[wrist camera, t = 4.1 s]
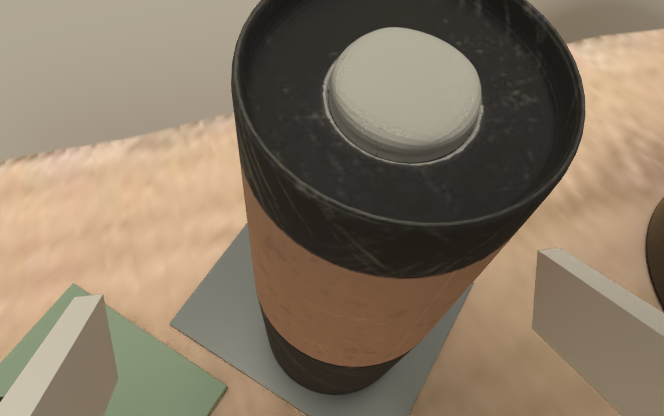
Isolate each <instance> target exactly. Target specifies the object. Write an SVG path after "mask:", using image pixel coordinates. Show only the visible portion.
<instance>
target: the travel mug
mask: <svg viewBox="0 0 664 416" xmlns="http://www.w3.org/2000/svg"><path fill="white" fill-rule="evenodd" d="M231 87H232V99H233V106H234V115H235V123H236V131H237V139H238V148H239V156H240V164H241V172H242V180H243V189H244V197H245V205H246V213H247V222H248V230H249V238H250V246H251V255H252V263H253V271H254V279H255V287H256V292H257V296H258V300H259V304H260V308H261V312H262V316H263V320H264V324H265V328H266V332H267V336H268V340H269V343H270V347H271V350H272V352H273V354H274V357H275V358H276V360H277V362H278V364H279V365H280V367H281V368H282V369H283V370H284V372H285V373H286V374H287V375H288V376H289V377H290V378H291V379H292V380H294V381H295V382H296V383H298V384H299V385H301V386H303V387H305V388H306V389H309V390H311V391H314V392H317V393H321V394H327V395H344V394H349V393H353V392H356V391H359V390H362V389H364V388H366V387H368V386H370V385H371V384H373V383H374V382H375V381H377V380H378V379H379V378H381V377H382V376H383V375H384V374H385V373H386V372H387V371H389V370H390V369H391V368H392V367H393V366H394V365H395V364H396V363H397V362H399V361H400V360H401V359H402V358H403V357H404V356H405V355H406V354H408V353H409V352H410V351H411V350H412V349H413V348H414V347H415V346H416V345H417V344H419V343H420V342H421V341H422V340H423V339H424V338H425V337H426V336H427V334H428V333H429V332H430V331H431V330H432V329H433V328H434V326H435V325H436V324H437V323H438V322H439V321H440V319H441V318H442V317H443V316H444V315H445V314H446V313H447V311H448V310H449V309H450V308H451V307H452V306H453V305H454V303H455V302H456V301H457V300H458V299H459V298H460V296H461V295H462V294H463V293H464V292H465V291H466V290H467V288H468V287H469V286H470V285H471V284H472V283H473V281H474V280H475V279H476V278H477V277H478V276H479V275H480V273H481V272H482V271H483V270H484V269H485V268H486V266H487V265H488V264H489V263H490V262H491V261H492V260H493V258H494V257H495V256H496V255H497V254H498V253H499V251H500V250H501V249H502V248H503V247H504V246H505V245H506V243H507V242H508V241H509V240H510V239H511V237H512V236H513V235H514V234H515V233H516V232H517V231H518V230H519V228H520V227H521V226H522V225H523V224H524V223H525V222H526V220H527V219H528V218H529V217H530V216H531V215H532V213H533V212H534V211H535V210H536V209H537V208H538V207H539V205H540V204H541V203H542V202H543V201H544V200H545V199H546V197H547V196H548V195H549V194H550V193H551V191H552V190H553V189H554V188H555V186H556V185H557V184H558V183H559V181H560V180H561V179H562V177H563V176H564V174H565V173H566V171H567V169H568V167H569V166H570V164H571V162H572V160H573V158H574V156H575V154H576V152H577V150H578V147H579V144H580V141H581V138H582V134H583V127H584V121H585V95H584V90H583V85H582V80H581V76H580V74H579V71H578V68H577V65H576V62H575V60H574V58H573V56H572V54H571V52H570V51H569V49H568V47H567V45H566V43H565V42H564V41H563V39H562V38H561V36H560V35H559V33H558V32H557V31H556V29H555V28H554V27H553V26H552V25H551V24H550V23H549V21H548V20H547V19H546V18H545V17H544V16H543V15H542V14H541V13H540V12H539V11H538V10H537V9H536V8H534V6H532V5H531V4H530V3H529V2H527V1H526V0H261V1H260V2H259V4H258V5H257V6H256V7H255V8H254V9H253V11H252V12H251V14H250V16H249V17H248V19H247V21H246V22H245V24H244V26H243V28H242V30H241V33H240V35H239V38H238V40H237V43H236V48H235V52H234V57H233V62H232V79H231Z"/></svg>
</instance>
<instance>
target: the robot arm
mask: <svg viewBox="0 0 664 416" xmlns="http://www.w3.org/2000/svg"><path fill="white" fill-rule="evenodd" d="M647 255H648V263H649V268H650V272H651V276H652V280H653V283H654V286H655V288H656V291H657V293H658V296H659V298H660V300H661V302H662V304H663V306H664V198H663V200H662V201H661V202H660V203H659V205H658V206H657V208H656V210H655V212H654V214H653V216H652V219H651V222H650V225H649V230H648V237H647ZM532 329H533V330H535V331H536V332H537V333H538V334H539V335H540V336H541V337H542V338H543V339H544V340H545V341H546V342H547V343H548V344H549V345H550V346H551V347H552V348H553V349H554V350H555V351H556V352H557V353H558V354H559V355H560V356H561V357H562V358H563V359H564V360H565V361H566V362H567V363H568V364H569V365H570V366H572V367H573V368H574V369H575V370H576V371H577V372H578V373H579V374H580V375H581V376H582V377H583V378H584V379H585V380H586V381H587V382H588V383H589V384H590V385H591V386H592V387H593V388H594V389H595V390H596V391H597V392H598V393H599V394H600V395H601V396H602V397H603V398H604V399H605V400H606V401H608V402H609V403H610V404H611V405H612V406H613V407H614V408H615V409H616V410H617V411H618V412H619V413H620V414H621V415H622V416H664V313H663V312H662V311H660V310H658V309H657V308H655V307H654V306H652V305H651V304H649V303H647V302H646V301H644V300H643V299H641V298H639V297H638V296H636V295H635V294H633V293H631V292H630V291H628V290H627V289H625V288H623V287H622V286H620V285H619V284H617V283H615V282H614V281H612V280H611V279H609V278H608V277H606V276H604V275H603V274H601V273H600V272H598V271H596V270H595V269H593V268H592V267H590V266H588V265H587V264H585V263H584V262H582V261H580V260H579V259H577V258H576V257H574V256H572V255H571V254H569V253H568V252H566V251H565V250H563V249H561V248H554V249H544V250H538V254H537V267H536V281H535V294H534V308H533V321H532ZM118 379H119V378H118V373H117V367H116V362H115V356H114V351H113V346H112V340H111V335H110V329H109V324H108V318H107V313H106V308H105V302H104V297H103V294H100V295H90V296H81V297H74V299H73V300H72V301H71V303H70V304H69V306H68V307H67V308H66V310H65V311H64V313H63V314H62V316H61V317H60V318H59V320H58V321H57V323H56V324H55V325H54V327H53V328H52V330H51V331H50V333H49V334H48V335H47V337H46V338H45V340H44V341H43V342H42V344H41V345H40V347H39V348H38V350H37V351H36V352H35V354H34V355H33V357H32V358H31V359H30V361H29V362H28V364H27V365H26V367H25V368H24V369H23V371H22V372H21V374H20V375H19V376H18V378H17V379H16V381H15V382H14V384H13V385H12V386H11V388H10V389H9V391H8V392H7V393H6V395H5V396H3V397H0V416H104V414H105V411H106V409H107V406H108V404H109V401H110V399H111V396H112V394H113V391H114V389H115V386H116V384H117V381H118Z"/></svg>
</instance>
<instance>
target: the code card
mask: <svg viewBox="0 0 664 416" xmlns="http://www.w3.org/2000/svg"><path fill="white" fill-rule="evenodd" d="M473 284H474V283H472V284H471V285H470V286H469V287H468V288H467V290H466V291H465V292H464V293H463V294H462V295H461V296H460V298H459V299H458V300H457V301H456V302H455V303H454V305H453V306H452V307H451V308H450V309H449V310H448V311H447V313H446V314H445V315H444V316H443V317H442V318H441V319H440V321H439V322H438V323H437V324H436V325H435V326H434V328H433V329H432V330H431V331H430V332H429V333H428V334H427V336H426V337H425V338H424V339H423V340H422V341H421V342H420V343H419V344H417V345H416V346H415V347H414V348H413V349H412V350H411V351H410V352H409V353H408V354H406V355H405V356H404V357H403V358H402V359H401V360H400V361H399V362H397V363H396V364H395V365H394V366H393V367H392V368H391V369H390V370H389V371H387V372H386V373H385V374H384V375H383V376H382V377H381V378H379V379H378V380H377V381H375V382H374V383H373V384H371V385H370V386H368V387H366V388H364V389H362V390H359V391H356V392H353V393H349V394H344V395H327V394H321V393H317V392H314V391H311V390H309V389H306V388H305V387H303V386H301V385H299V384H298V383H296V382H295V381H294V380H292V379H291V378H290V377H289V376H288V375H287V374H286V373H285V372H284V370H283V369H282V368H281V367H280V365H279V364H278V362H277V360H276V358H275V357H274V354H273V352H272V350H271V347H270V343H269V340H268V336H267V332H266V328H265V324H264V320H263V316H262V312H261V308H260V304H259V300H258V296H257V292H256V287H255V279H254V271H253V263H252V255H251V246H250V238H249V230H248V223H247V224H246V225H245V227H244V228H243V229H242V231H241V232H240V233H239V234H238V236H237V237H236V238H235V240H234V241H233V242H232V243H231V245H230V246H229V247H228V249H227V250H226V251H225V252H224V254H223V255H222V256H221V258H220V259H219V260H218V261H217V263H216V264H215V265H214V267H213V268H212V269H211V270H210V272H209V273H208V274H207V276H206V277H205V278H204V280H203V281H202V282H201V283H200V285H199V286H198V287H197V289H196V290H195V291H194V292H193V294H192V295H191V296H190V298H189V299H188V300H187V301H186V303H185V304H184V305H183V307H182V308H181V309H180V310H179V312H178V313H177V314H176V316H175V317H174V318H173V319H172V321H171V322H170V323H169V324H170V325H171V326H173V327H174V328H176V329H177V330H179V331H180V332H182V333H183V334H185V335H186V336H188V337H189V338H191V339H192V340H194V341H195V342H197V343H198V344H200V345H201V346H203V347H204V348H206V349H208V350H209V351H211V352H212V353H214V354H215V355H217V356H218V357H220V358H221V359H223V360H224V361H226V362H227V363H229V364H230V365H232V366H233V367H235V368H236V369H238V370H239V371H241V372H242V373H244V374H246V375H247V376H249V377H250V378H252V379H253V380H255V381H256V382H258V383H259V384H261V385H262V386H264V387H265V388H267V389H268V390H270V391H271V392H273V393H274V394H276V395H277V396H279V397H280V398H282V399H283V400H285V401H287V402H288V403H290V404H291V405H293V406H294V407H296V408H297V409H299V410H300V411H302V412H303V413H305V414H306V415H308V416H408V415H409V413H410V411H411V409H412V407H413V405H414V403H415V401H416V399H417V397H418V395H419V393H420V391H421V389H422V386H423V384H424V382H425V380H426V378H427V376H428V374H429V372H430V370H431V368H432V366H433V364H434V362H435V360H436V358H437V356H438V354H439V352H440V350H441V348H442V346H443V344H444V342H445V340H446V338H447V336H448V334H449V332H450V330H451V328H452V326H453V324H454V322H455V320H456V318H457V316H458V314H459V312H460V310H461V308H462V306H463V304H464V302H465V300H466V298H467V296H468V294H469V292H470V290H471V288H472V286H473Z"/></svg>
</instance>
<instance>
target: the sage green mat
mask: <svg viewBox="0 0 664 416" xmlns="http://www.w3.org/2000/svg"><path fill="white" fill-rule="evenodd" d="M81 296H90V294H89V293H87V292H86V291H84V290H83V289H81V288H80V287H78V286H77V285H75V284H74V283H73V284H72V285H71V286H70V287H69V288H68V289H67V290H66V292H65V293H64V294H63V295H62V296H61V297H60V298H59V299H58V300H57V301H56V303H55V304H54V305H53V306H52V307H51V308H50V309H49V310H48V311H47V313H46V314H45V315H44V316H43V317H42V318H41V319H40V320H39V321H38V322H37V324H36V325H35V326H34V327H33V328H32V329H31V330H30V331H29V332H28V333H27V335H26V336H25V337H24V338H23V339H22V340H21V341H20V342H19V343H18V345H17V346H16V347H15V348H14V349H13V350H12V351H11V352H10V353H9V354H8V356H7V357H6V358H5V359H4V360H3V361H2V362H1V363H0V397H3V396H5V395H6V393H7V392H8V391H9V389H10V388H11V386H12V385H13V384H14V382H15V381H16V379H17V378H18V376H19V375H20V374H21V372H22V371H23V369H24V368H25V367H26V365H27V364H28V362H29V361H30V359H31V358H32V357H33V355H34V354H35V352H36V351H37V350H38V348H39V347H40V345H41V344H42V342H43V341H44V340H45V338H46V337H47V335H48V334H49V333H50V331H51V330H52V328H53V327H54V325H55V324H56V323H57V321H58V320H59V318H60V317H61V316H62V314H63V313H64V311H65V310H66V308H67V307H68V306H69V304H70V303H71V301H72V300H73V299H74V297H81ZM105 308H106V313H107V318H108V324H109V329H110V335H111V340H112V346H113V351H114V356H115V362H116V367H117V373H118V378H119V379H118V381H117V384H116V386H115V389H114V391H113V394H112V396H111V399H110V401H109V404H108V406H107V409H106V411H105V414H104V416H209V415H210V414H211V412H212V411H213V409H214V408H215V406H216V405H217V403H218V402H219V400H220V399H221V397H222V396H223V394H224V393H225V391H226V390H227V388H228V387H227V386H226V385H225V384H223V383H222V382H220V381H219V380H217V379H216V378H214V377H213V376H211V375H210V374H209V373H207V372H206V371H204V370H203V369H201V368H200V367H198V366H197V365H195V364H194V363H192V362H191V361H189V360H188V359H186V358H185V357H183V356H182V355H180V354H179V353H177V352H176V351H174V350H173V349H171V348H170V347H168V346H167V345H165V344H164V343H162V342H161V341H159V340H158V339H156V338H155V337H153V336H152V335H150V334H149V333H147V332H146V331H144V330H143V329H141V328H140V327H138V326H137V325H135V324H134V323H132V322H131V321H129V320H128V319H126V318H125V317H123V316H122V315H120V314H119V313H117V312H116V311H114V310H113V309H111V308H110V307H108V306H107V305H105Z"/></svg>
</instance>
